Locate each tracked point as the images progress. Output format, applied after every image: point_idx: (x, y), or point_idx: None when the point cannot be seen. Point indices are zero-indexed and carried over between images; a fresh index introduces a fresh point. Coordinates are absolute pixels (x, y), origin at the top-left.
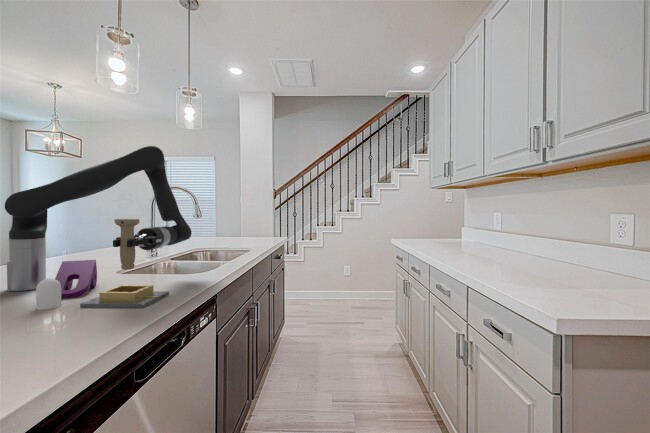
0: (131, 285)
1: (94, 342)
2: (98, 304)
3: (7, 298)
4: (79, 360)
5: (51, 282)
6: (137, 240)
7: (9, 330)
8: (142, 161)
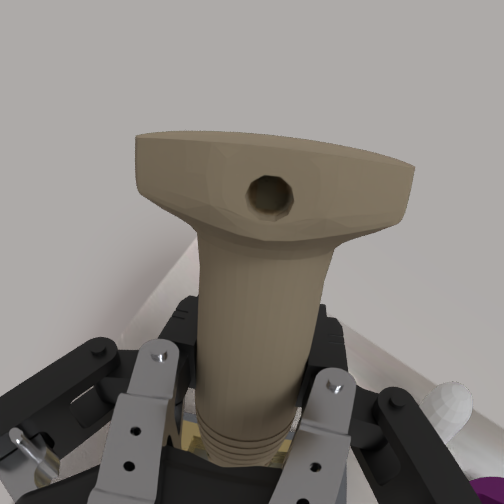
0: None
1: (193, 284)
2: (289, 432)
3: None
4: (190, 259)
5: (440, 390)
6: (164, 328)
7: (350, 331)
8: None
